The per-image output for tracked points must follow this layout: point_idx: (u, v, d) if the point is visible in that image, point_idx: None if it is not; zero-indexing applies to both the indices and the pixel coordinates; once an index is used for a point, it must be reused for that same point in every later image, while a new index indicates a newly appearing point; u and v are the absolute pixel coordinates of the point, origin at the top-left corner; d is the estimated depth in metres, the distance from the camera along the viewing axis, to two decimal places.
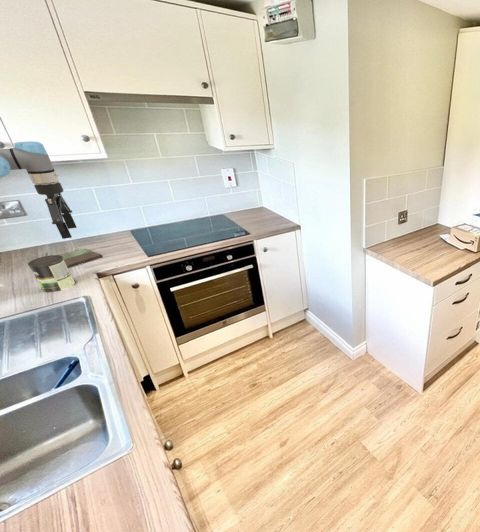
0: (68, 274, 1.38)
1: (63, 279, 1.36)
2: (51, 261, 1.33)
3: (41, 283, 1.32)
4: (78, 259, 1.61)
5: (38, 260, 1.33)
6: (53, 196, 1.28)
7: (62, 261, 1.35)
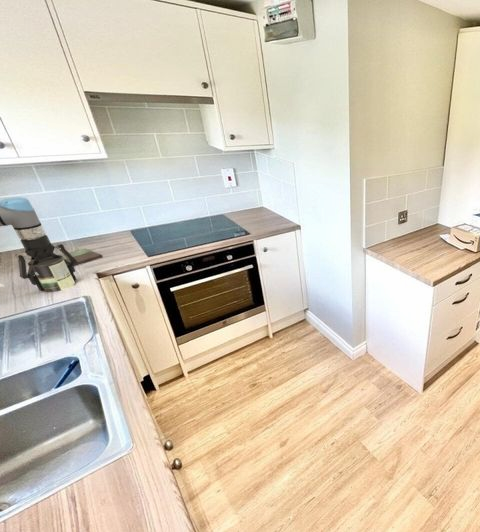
0: (68, 274, 1.38)
1: (63, 279, 1.36)
2: (51, 261, 1.33)
3: (41, 283, 1.32)
4: (78, 259, 1.61)
5: None
6: (27, 251, 1.27)
7: (62, 261, 1.35)
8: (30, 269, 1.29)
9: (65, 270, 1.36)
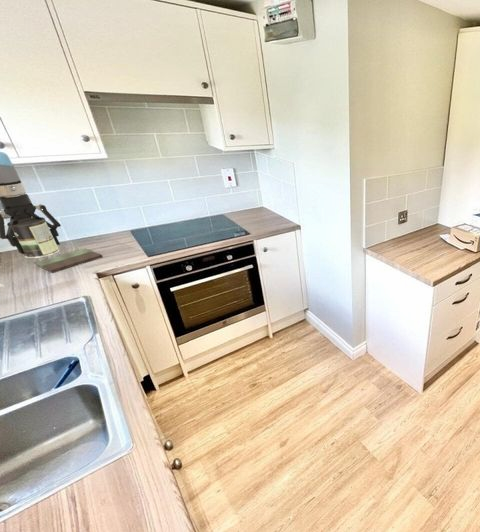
0: (50, 237, 1.31)
1: (45, 242, 1.29)
2: (32, 222, 1.26)
3: (21, 245, 1.26)
4: (78, 259, 1.61)
5: (18, 221, 1.26)
6: (6, 209, 1.21)
7: (44, 223, 1.29)
8: (9, 229, 1.23)
9: (47, 233, 1.30)
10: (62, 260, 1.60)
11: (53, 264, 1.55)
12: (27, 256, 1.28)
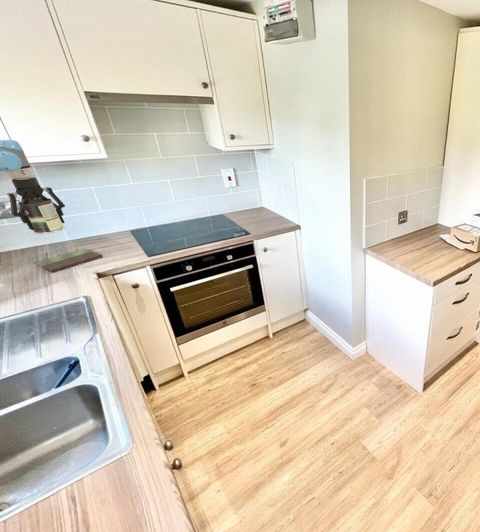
0: (56, 216, 1.50)
1: (51, 220, 1.48)
2: (40, 202, 1.44)
3: (31, 222, 1.44)
4: (78, 259, 1.61)
5: None
6: (18, 190, 1.39)
7: (50, 203, 1.47)
8: (21, 208, 1.41)
9: (53, 212, 1.48)
10: (62, 260, 1.60)
11: (53, 264, 1.55)
12: (36, 232, 1.47)
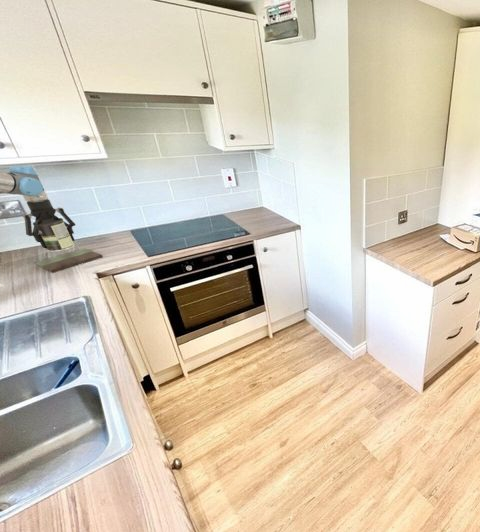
0: (67, 234, 1.60)
1: (63, 238, 1.57)
2: (53, 222, 1.54)
3: (44, 241, 1.54)
4: (78, 259, 1.61)
5: None
6: (33, 212, 1.49)
7: (62, 222, 1.57)
8: (35, 228, 1.51)
9: (65, 231, 1.58)
10: (62, 260, 1.60)
11: (53, 264, 1.55)
12: (49, 250, 1.56)
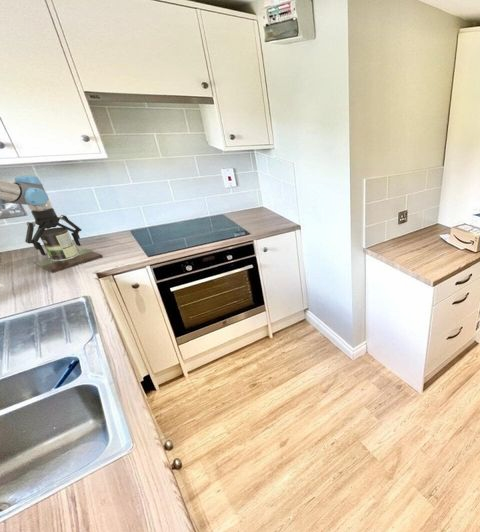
0: (72, 244, 1.62)
1: (67, 247, 1.60)
2: (57, 232, 1.56)
3: (49, 250, 1.56)
4: (78, 259, 1.61)
5: (46, 231, 1.57)
6: (37, 220, 1.51)
7: (67, 232, 1.59)
8: (35, 235, 1.52)
9: (69, 240, 1.60)
10: None
11: (53, 264, 1.55)
12: (53, 259, 1.59)
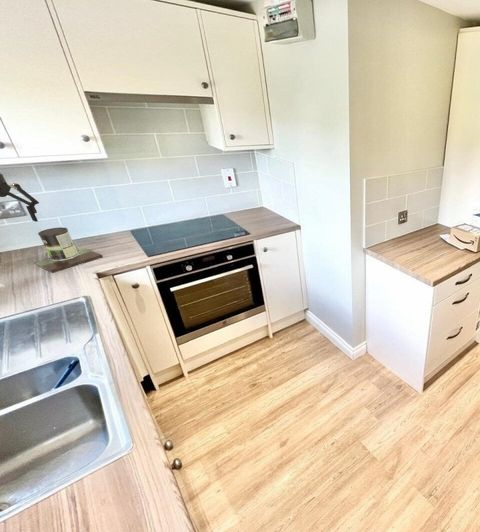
0: (72, 244, 1.62)
1: (67, 247, 1.60)
2: (57, 232, 1.56)
3: (49, 250, 1.56)
4: (78, 259, 1.61)
5: (46, 231, 1.57)
6: None
7: (67, 232, 1.59)
8: None
9: (69, 240, 1.60)
10: None
11: (53, 264, 1.55)
12: (53, 259, 1.59)
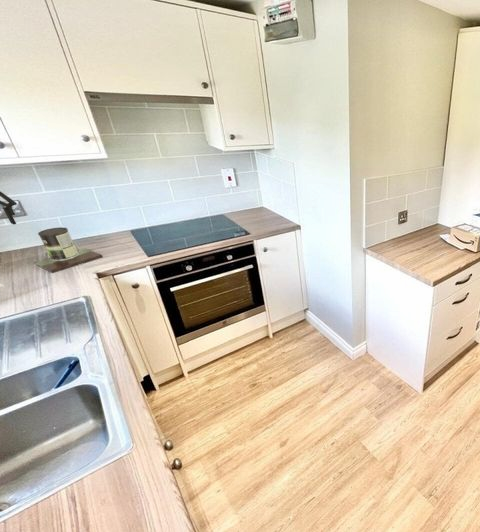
0: (72, 244, 1.62)
1: (67, 247, 1.60)
2: (57, 232, 1.56)
3: (49, 250, 1.56)
4: (78, 259, 1.61)
5: (46, 231, 1.57)
6: None
7: (67, 232, 1.59)
8: None
9: (69, 240, 1.60)
10: None
11: (53, 264, 1.55)
12: (53, 259, 1.59)
